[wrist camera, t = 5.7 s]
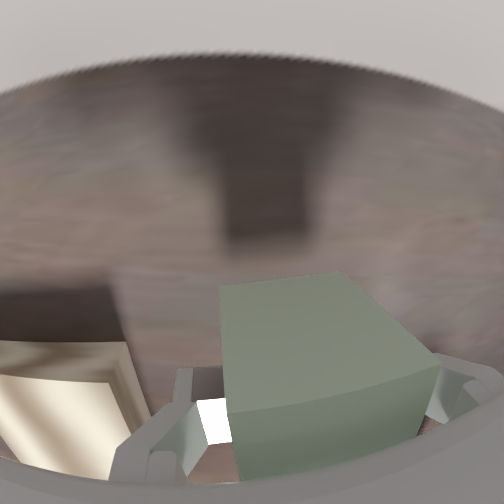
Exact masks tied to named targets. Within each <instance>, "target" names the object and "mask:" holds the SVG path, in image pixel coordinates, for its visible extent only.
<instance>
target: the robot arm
mask: <svg viewBox="0 0 504 504" xmlns="http://www.w3.org/2000/svg"><path fill="white" fill-rule="evenodd" d="M416 339H417V338H416ZM417 340H418V339H417ZM418 341H419V340H418ZM419 342H420V341H419ZM420 343H421V342H420ZM430 352H431V351H430ZM431 353H432V352H431ZM432 354H433V355H434V356H435V357H436V358H437V359H438V360H439V361H440V362H442V365H441V368H440V372H439V375H438V378H437V381H436V385H435V388H434V391H433V394H432V397H431V399H430V402H429V405H428V408H427V411H426V413H425V415H427V416H428V417H430V418H432V419H434V420H436V421H438V422H440V423H442V424H443V425H441V426H439V427H437V428H434V429H432V430H430V431H428V432H426V433H423V434H421V435H419V436H416V437H414V438H411V439H409V440H406V441H404V442H401V443H399V444H396V445H393V446H391V447H388V448H385V449H382V450H379V451H376V452H374V453H370V454H367V455H364V456H361V457H358V458H354V459H351V460H348V461H344V462H340V463H337V464H333V465H329V466H325V467H321V468H316V469H312V470H307V471H303V472H298V473H293V474H287V475H281V476H275V477H269V478H262V479H255V480H246V481H237V482H225V483H210V484H190V483H189V481H188V479H187V476H188V475H189V473H190V472H191V470H192V469H193V468H194V466H195V465H196V463H197V462H198V460H199V459H200V458H201V456H202V455H203V453H204V452H205V450H206V449H207V447H208V446H209V444H211V443H221V442H230V441H231V436H230V431H229V426H228V421H227V416H226V408H225V394H224V379H223V365H221V366H208V367H195V368H180V369H178V370H177V371H176V378H175V385H174V391H173V399H172V403H167V404H166V405H165V406H164V407H163V408H161V409H160V410H159V411H158V412H157V413H156V414H155V415H154V416H152V417H151V418H150V419H149V420H148V421H147V422H146V423H145V424H143V425H142V426H141V427H140V428H139V429H138V430H137V431H135V432H134V433H133V434H132V435H131V436H130V437H128V438H127V439H126V440H125V441H124V442H123V443H121V444H120V445H119V446H118V447H117V448H116V450H115V454H114V458H113V462H112V466H111V470H110V474H109V478H108V480H102V479H94V478H88V477H82V476H76V475H70V474H65V473H60V472H56V471H51V470H47V469H43V468H39V467H35V466H31V465H28V464H24V463H21V462H17V461H14V460H11V459H8V458H5V457H2V456H0V504H504V377H503V376H502V375H501V374H500V373H499V372H497V371H496V370H495V369H494V368H492V367H488V366H484V365H480V364H477V363H473V362H469V361H465V360H462V359H458V358H454V357H451V356H447V355H444V354H440V353H437V352H436V353H432Z"/></svg>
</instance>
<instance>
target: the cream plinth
mask: <svg viewBox="0 0 504 504" xmlns="http://www.w3.org/2000/svg"><path fill="white" fill-rule="evenodd" d="M150 418H151V415H150V412H149V410H148V407H147V404H146V402H145V399H144V396H143V393H142V390H141V387H140V385H139V382H138V379H137V376H136V372H135V369H134V366H133V363H132V360H131V357H130V353H129V350H128V346H127V343H126V342H74V343H72V342H23V341H3V340H0V435H1V436H2V438H3V439H4V441H5V442H6V443H7V445H8V446H9V447H10V449H11V450H12V451H13V453H14V454H15V455H16V457H17V458H18V459H19V460H20V462H21V463H24V464H28V465H31V466H35V467H39V468H43V469H47V470H51V471H56V472H60V473H65V474H70V475H76V476H82V477H88V478H94V479H102V480H108V478H109V474H110V470H111V466H112V462H113V458H114V454H115V450H116V448H117V447H118V446H119V445H120V444H121V443H123V442H124V441H125V440H126V439H127V438H128V437H130V436H131V435H132V434H133V433H134V432H135V431H137V430H138V429H139V428H140V427H141V426H142V425H143V424H145V423H146V422H147V421H148V420H149V419H150Z"/></svg>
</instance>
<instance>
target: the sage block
mask: <svg viewBox="0 0 504 504" xmlns="http://www.w3.org/2000/svg"><path fill="white" fill-rule="evenodd" d="M219 307H220V328H221V346H222V364H223V379H224V394H225V408H226V416H227V421H228V426H229V431H230V436H231V441H232V445H233V450H234V455H235V459H236V464H237V468H238V472H239V477H240V481H246V480H255V479H262V478H269V477H275V476H281V475H287V474H293V473H298V472H303V471H307V470H312V469H316V468H321V467H325V466H329V465H333V464H337V463H340V462H344V461H348V460H351V459H354V458H358V457H361V456H364V455H367V454H370V453H374V452H376V451H379V450H382V449H385V448H388V447H391V446H393V445H396V444H399V443H401V442H404V441H406V440H409V439H411V438H414V437H416V436H417V433H418V431H419V429H420V426H421V424H422V421H423V418H424V416H425V413H426V411H427V408H428V405H429V402H430V399H431V397H432V394H433V391H434V388H435V385H436V381H437V378H438V375H439V372H440V368H441V365H442V362H440V361H439V360H438V359H437V358H436V357H435V356H434V355H433V354H432V353H431V352H430V351H429V350H428V349H427V348H426V347H425V346H424V345H423V344H422V343H420V342H419V341H418V340H417V339H416V338H415V337H414V336H413V335H412V334H411V333H410V332H409V331H408V330H407V329H405V328H404V327H403V326H402V325H401V324H400V323H399V322H398V321H397V320H396V319H395V318H393V317H392V316H391V315H390V314H389V313H388V312H387V311H386V310H385V309H384V308H382V307H381V306H380V305H379V304H378V303H377V302H376V301H375V300H373V299H372V298H371V297H370V296H369V295H368V294H367V293H366V292H364V291H363V290H362V289H361V288H360V287H359V286H358V285H357V284H355V283H354V282H353V281H352V280H351V279H350V278H349V277H347V276H346V275H345V274H344V273H343V272H342V271H338V272H331V273H324V274H316V275H308V276H300V277H293V278H285V279H276V280H268V281H260V282H251V283H242V284H233V285H224V286H219Z"/></svg>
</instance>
